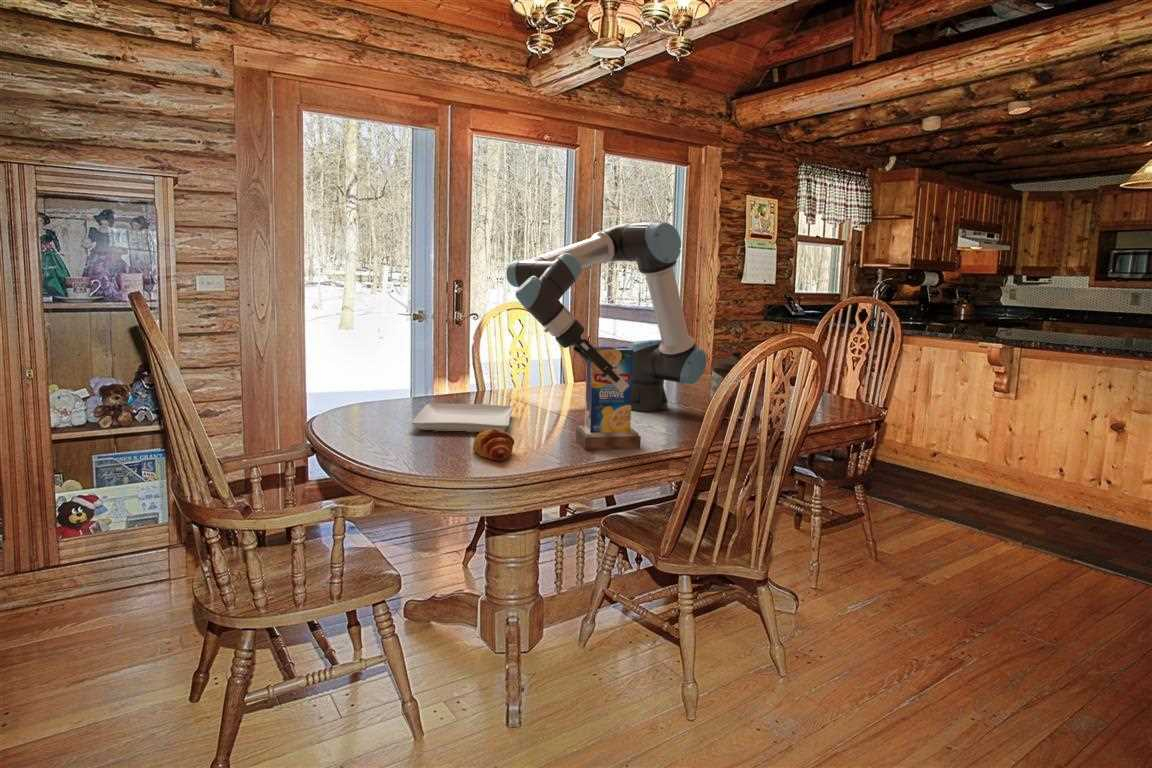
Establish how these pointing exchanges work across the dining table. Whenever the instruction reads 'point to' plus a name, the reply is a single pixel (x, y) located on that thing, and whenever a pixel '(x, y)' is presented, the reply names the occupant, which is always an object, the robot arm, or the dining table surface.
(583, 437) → the base block
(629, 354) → the beverage box
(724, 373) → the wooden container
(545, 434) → the dining table surface
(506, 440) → the croissant
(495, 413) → the square plate
